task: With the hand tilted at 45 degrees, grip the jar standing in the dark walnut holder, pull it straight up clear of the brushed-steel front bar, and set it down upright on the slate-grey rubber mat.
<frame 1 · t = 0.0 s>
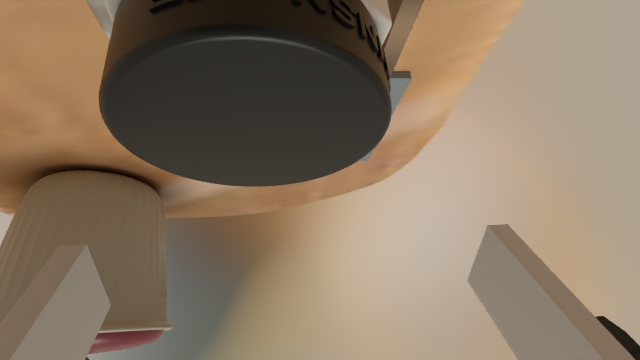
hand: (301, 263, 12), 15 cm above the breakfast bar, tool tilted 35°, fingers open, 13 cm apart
mat: (311, 122, 32), on the breakfast bar
canister: (103, 185, 42), on the breakfast bar
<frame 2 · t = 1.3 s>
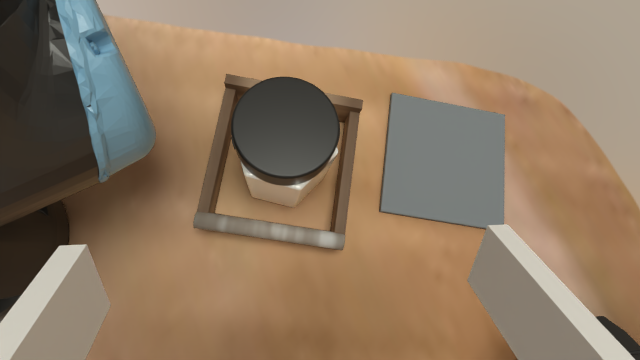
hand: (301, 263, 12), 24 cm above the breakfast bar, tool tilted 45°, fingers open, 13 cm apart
mat: (444, 161, 40), on the breakfast bar
jar: (282, 168, 37), resting in jar holder
jar holder: (282, 167, 37), on the breakfast bar
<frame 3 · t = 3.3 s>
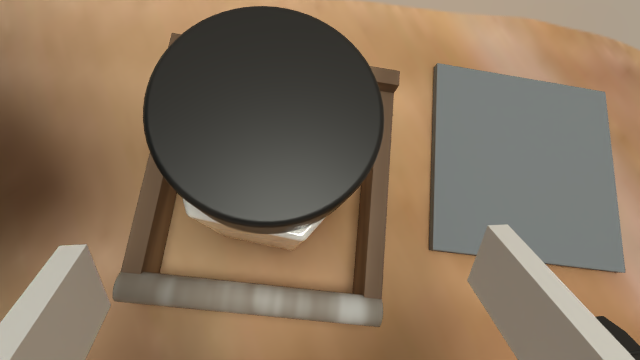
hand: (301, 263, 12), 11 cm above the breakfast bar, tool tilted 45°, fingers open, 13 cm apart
mat: (521, 165, 26), on the breakfast bar
jar: (272, 186, 23), resting in jar holder
jar holder: (272, 185, 23), on the breakfast bar
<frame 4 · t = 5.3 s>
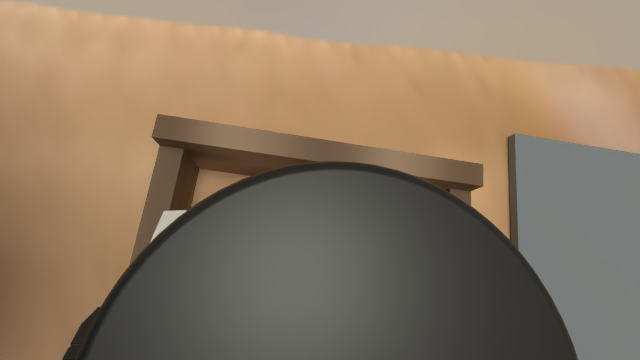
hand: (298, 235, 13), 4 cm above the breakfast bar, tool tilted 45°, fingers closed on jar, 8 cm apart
mat: (630, 274, 19), on the breakfast bar
jar: (297, 314, 17), resting in jar holder, touching gripper
jar holder: (298, 315, 17), on the breakfast bar
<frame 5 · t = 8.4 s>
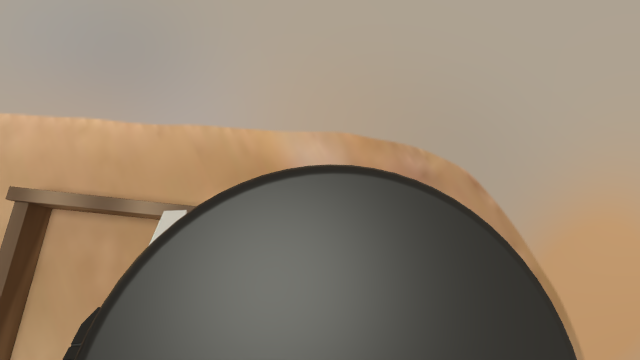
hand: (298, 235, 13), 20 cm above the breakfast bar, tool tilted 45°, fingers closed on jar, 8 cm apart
jar: (297, 316, 17), point 15 cm above the breakfast bar, touching gripper
jar holder: (106, 291, 29), on the breakfast bar
when the fingers open (6 cm above the breakfast bar, at t = 11.5 s): jar drops 1 cm, resting on mat.
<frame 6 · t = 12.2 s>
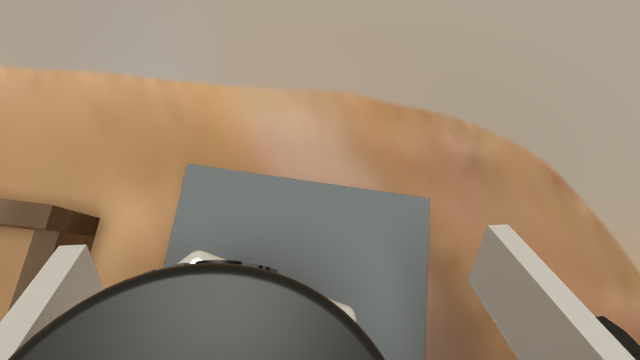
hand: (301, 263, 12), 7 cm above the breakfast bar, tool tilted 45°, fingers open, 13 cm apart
mat: (295, 310, 18), on the breakfast bar
jar: (237, 352, 17), point 1 cm above the breakfast bar, touching gripper, mat
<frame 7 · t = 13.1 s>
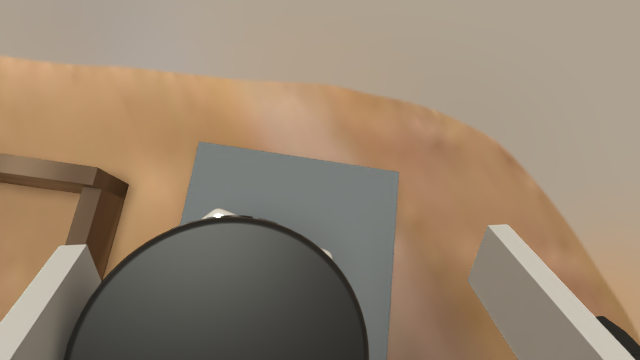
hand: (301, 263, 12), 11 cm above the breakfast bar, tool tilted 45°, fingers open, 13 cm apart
mat: (286, 259, 23), on the breakfast bar
jar: (238, 290, 21), point 1 cm above the breakfast bar, touching gripper, mat
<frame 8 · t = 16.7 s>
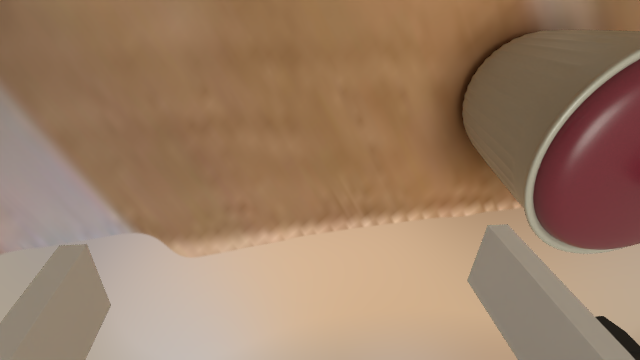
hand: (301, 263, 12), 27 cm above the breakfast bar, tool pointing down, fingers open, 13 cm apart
canister: (511, 92, 39), on the breakfast bar
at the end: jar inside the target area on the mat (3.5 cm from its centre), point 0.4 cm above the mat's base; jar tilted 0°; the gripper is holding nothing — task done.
